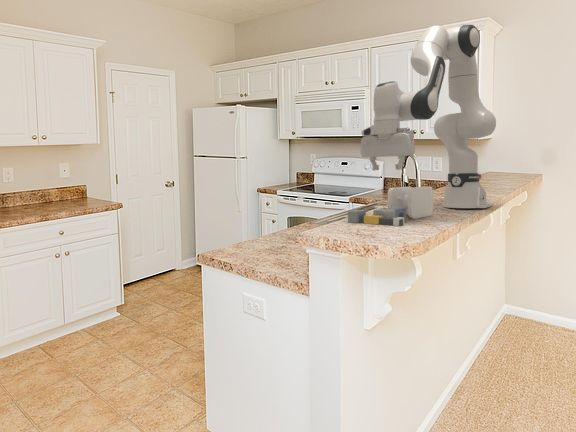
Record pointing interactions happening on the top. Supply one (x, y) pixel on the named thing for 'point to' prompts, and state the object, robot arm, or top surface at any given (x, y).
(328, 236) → the top surface
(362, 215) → the grey block
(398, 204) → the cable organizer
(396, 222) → the yellow and black bar
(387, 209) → the medicine box
